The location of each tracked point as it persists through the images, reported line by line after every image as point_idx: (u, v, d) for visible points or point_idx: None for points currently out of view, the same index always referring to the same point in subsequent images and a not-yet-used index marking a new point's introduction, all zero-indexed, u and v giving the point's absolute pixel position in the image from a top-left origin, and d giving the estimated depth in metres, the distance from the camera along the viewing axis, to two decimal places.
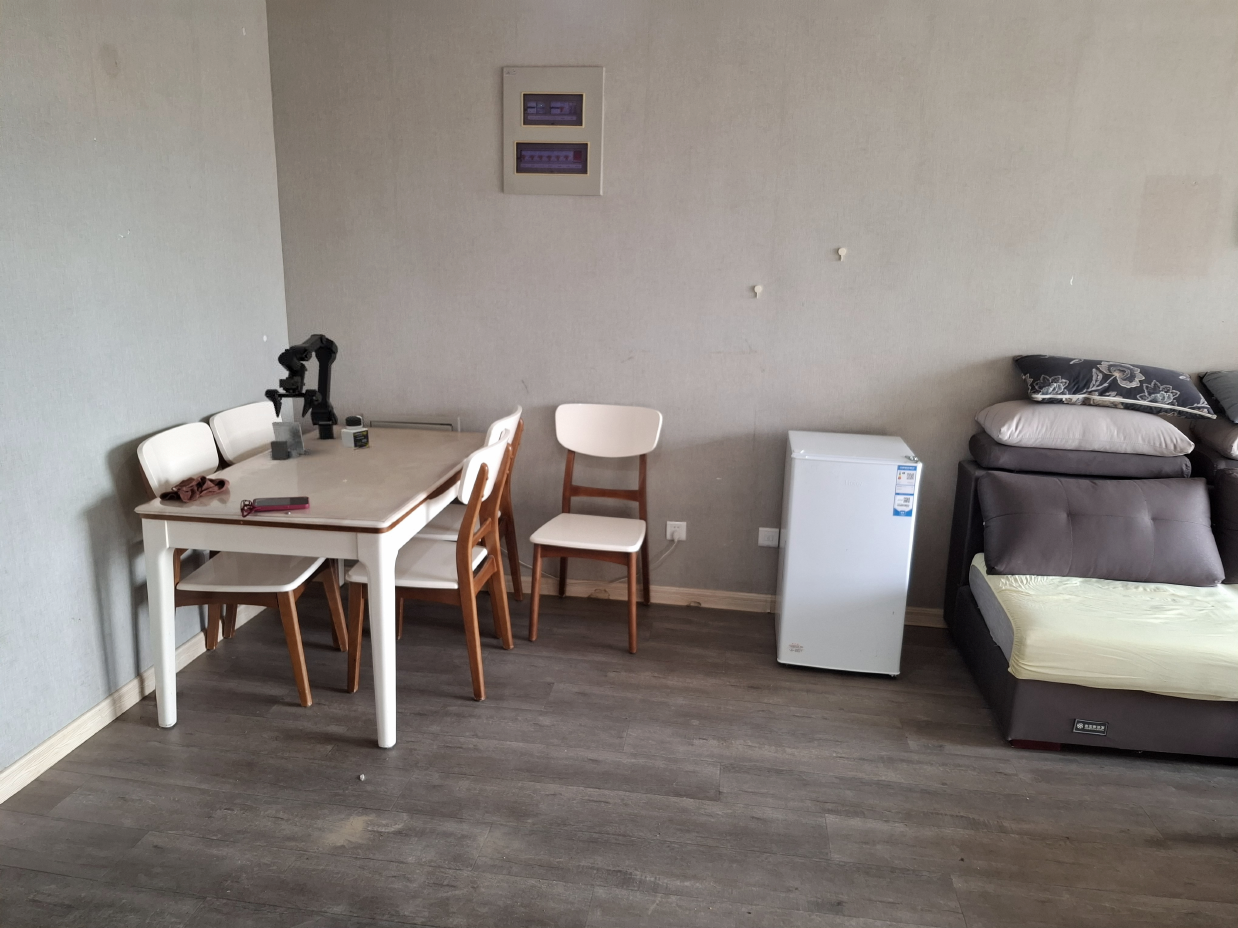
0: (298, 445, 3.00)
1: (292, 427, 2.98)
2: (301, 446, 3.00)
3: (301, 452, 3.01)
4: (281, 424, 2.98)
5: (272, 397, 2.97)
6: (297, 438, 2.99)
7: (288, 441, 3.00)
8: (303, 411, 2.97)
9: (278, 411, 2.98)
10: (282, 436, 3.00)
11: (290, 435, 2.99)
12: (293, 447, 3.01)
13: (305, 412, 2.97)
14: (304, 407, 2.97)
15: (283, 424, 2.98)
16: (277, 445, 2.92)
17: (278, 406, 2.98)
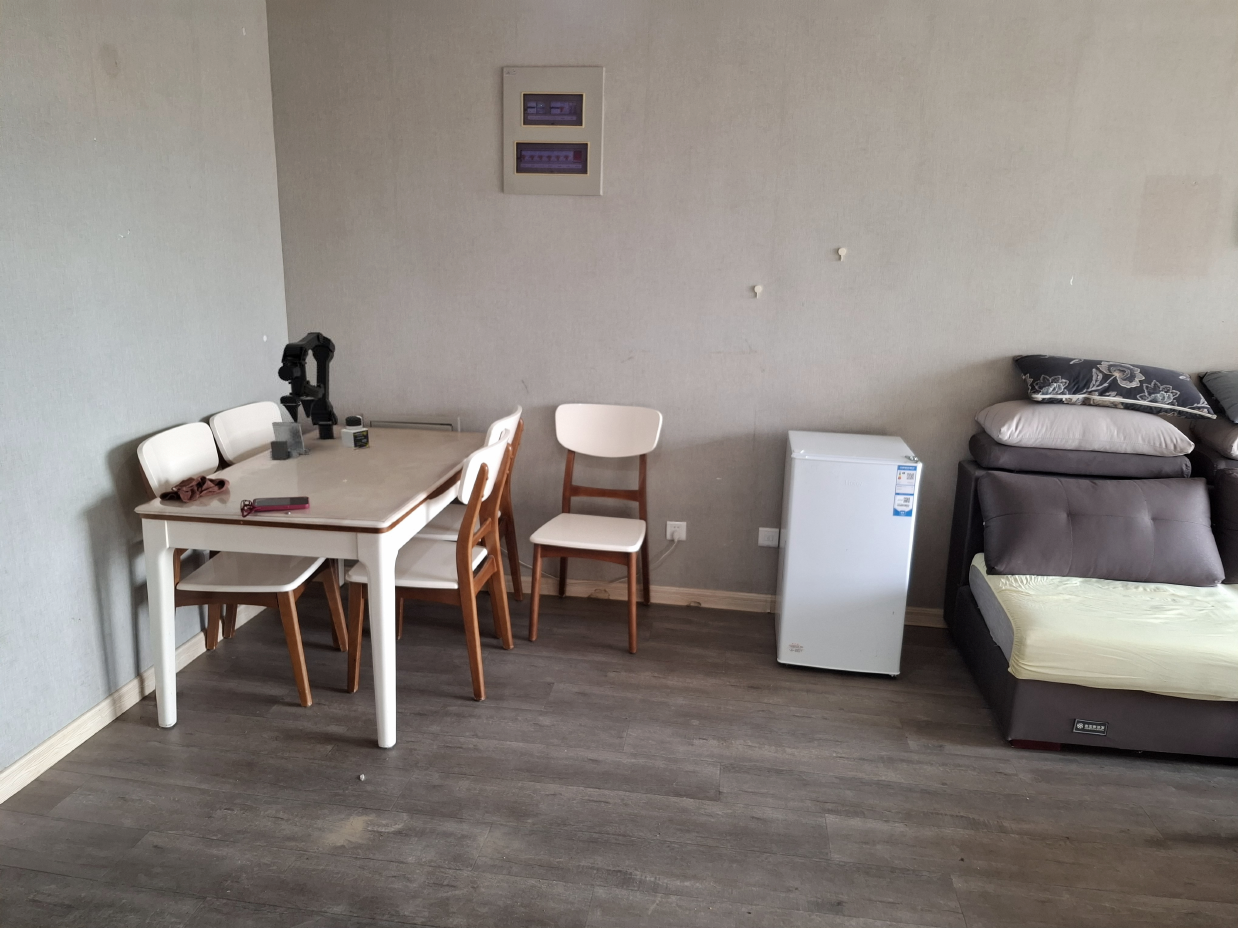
0: (298, 445, 3.00)
1: (292, 427, 2.98)
2: (301, 446, 3.00)
3: (301, 452, 3.01)
4: (281, 424, 2.98)
5: (299, 405, 3.00)
6: (297, 438, 2.99)
7: (288, 441, 3.00)
8: (310, 412, 3.12)
9: None
10: (282, 436, 3.00)
11: (290, 435, 2.99)
12: (293, 447, 3.01)
13: None
14: (311, 408, 3.12)
15: (283, 424, 2.98)
16: (277, 445, 2.92)
17: None
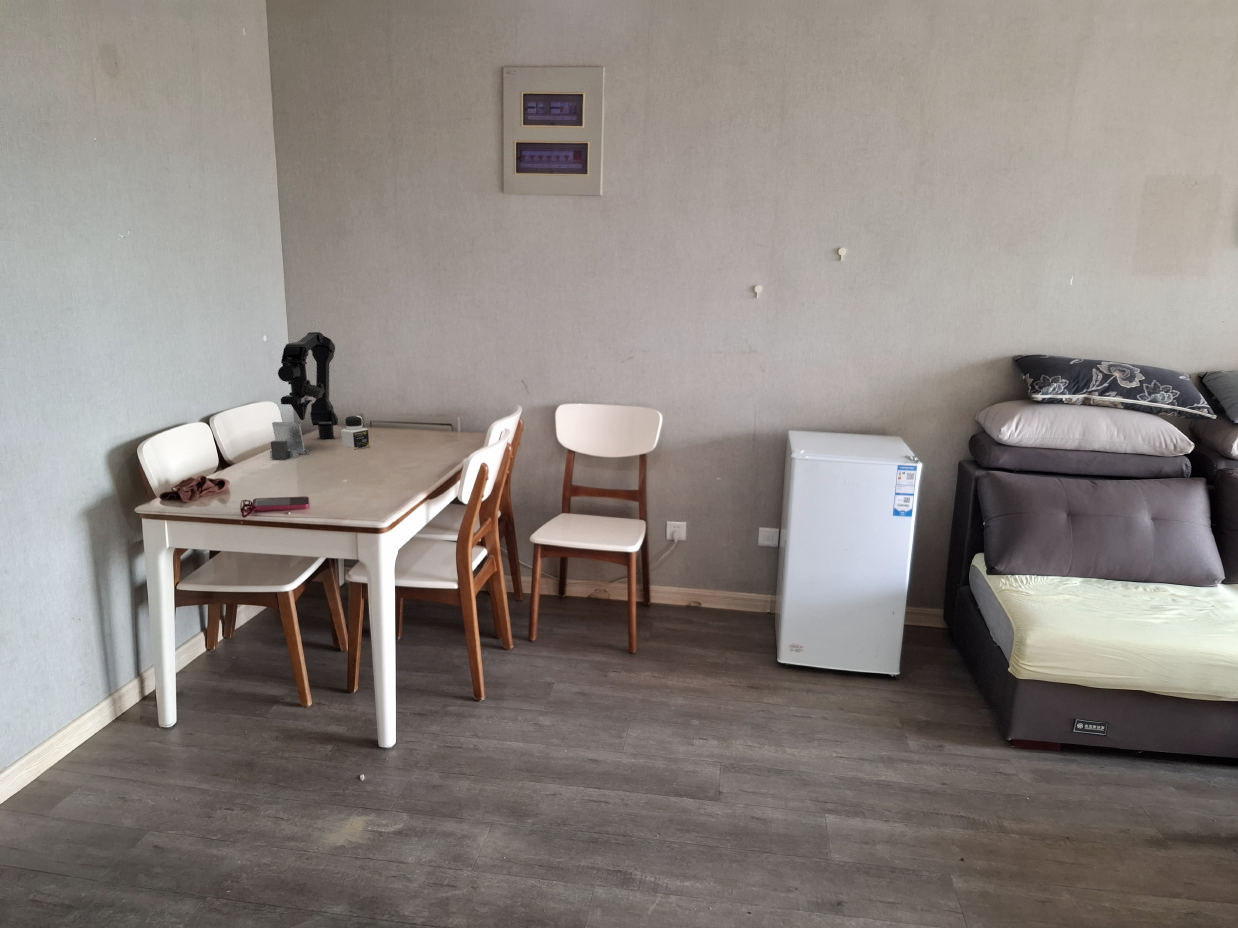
0: (298, 445, 3.00)
1: (292, 427, 2.98)
2: (301, 446, 3.00)
3: (301, 452, 3.01)
4: (281, 424, 2.98)
5: (305, 403, 3.04)
6: (297, 438, 2.99)
7: (288, 441, 3.00)
8: None
9: None
10: (282, 436, 3.00)
11: (290, 435, 2.99)
12: (293, 447, 3.01)
13: None
14: (305, 410, 3.08)
15: (283, 424, 2.98)
16: (277, 445, 2.92)
17: None
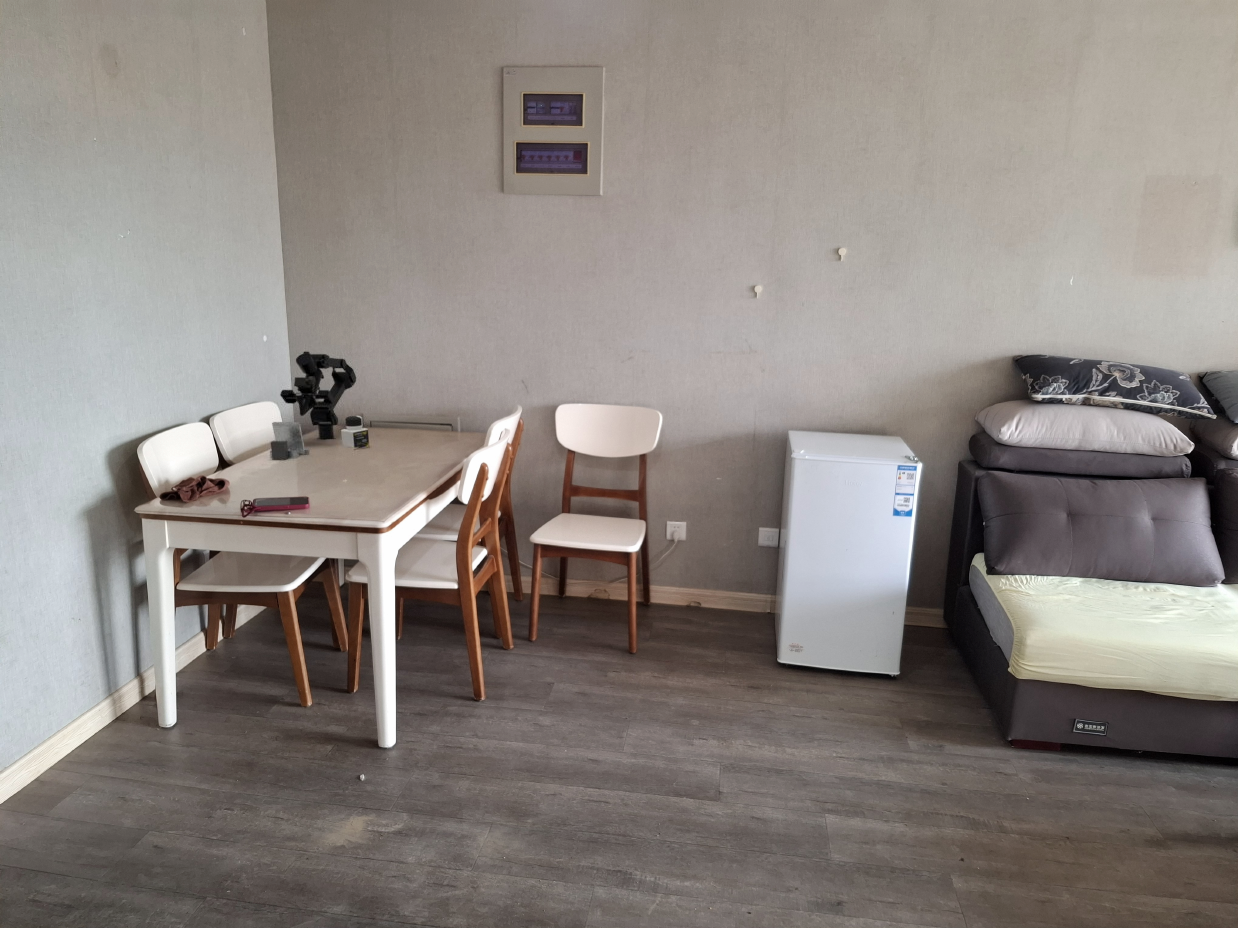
0: (298, 445, 3.00)
1: (292, 427, 2.98)
2: (301, 446, 3.00)
3: (301, 452, 3.01)
4: (281, 424, 2.98)
5: (298, 396, 3.11)
6: (297, 438, 2.99)
7: (288, 441, 3.00)
8: (303, 409, 3.10)
9: None
10: (282, 436, 3.00)
11: (290, 435, 2.99)
12: (293, 447, 3.01)
13: (305, 410, 3.10)
14: (304, 406, 3.10)
15: (283, 424, 2.98)
16: (277, 445, 2.92)
17: (303, 405, 3.11)
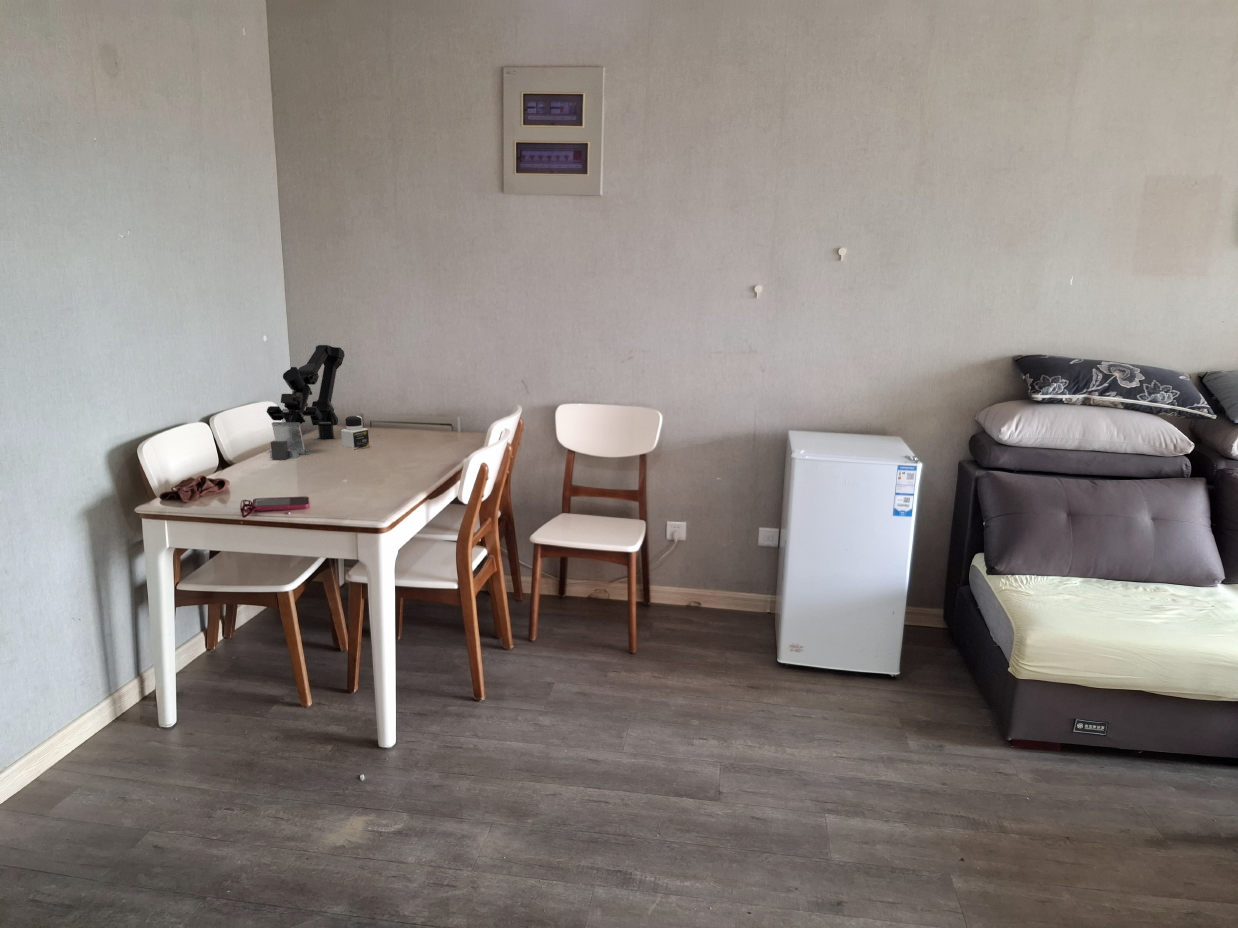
0: (298, 445, 3.00)
1: (292, 427, 2.98)
2: (301, 446, 3.00)
3: (301, 452, 3.01)
4: (281, 424, 2.97)
5: (285, 413, 3.01)
6: (296, 438, 2.99)
7: (288, 441, 3.00)
8: None
9: None
10: (281, 436, 2.99)
11: (290, 435, 2.99)
12: (293, 447, 3.01)
13: None
14: None
15: (283, 424, 2.97)
16: (277, 445, 2.92)
17: None
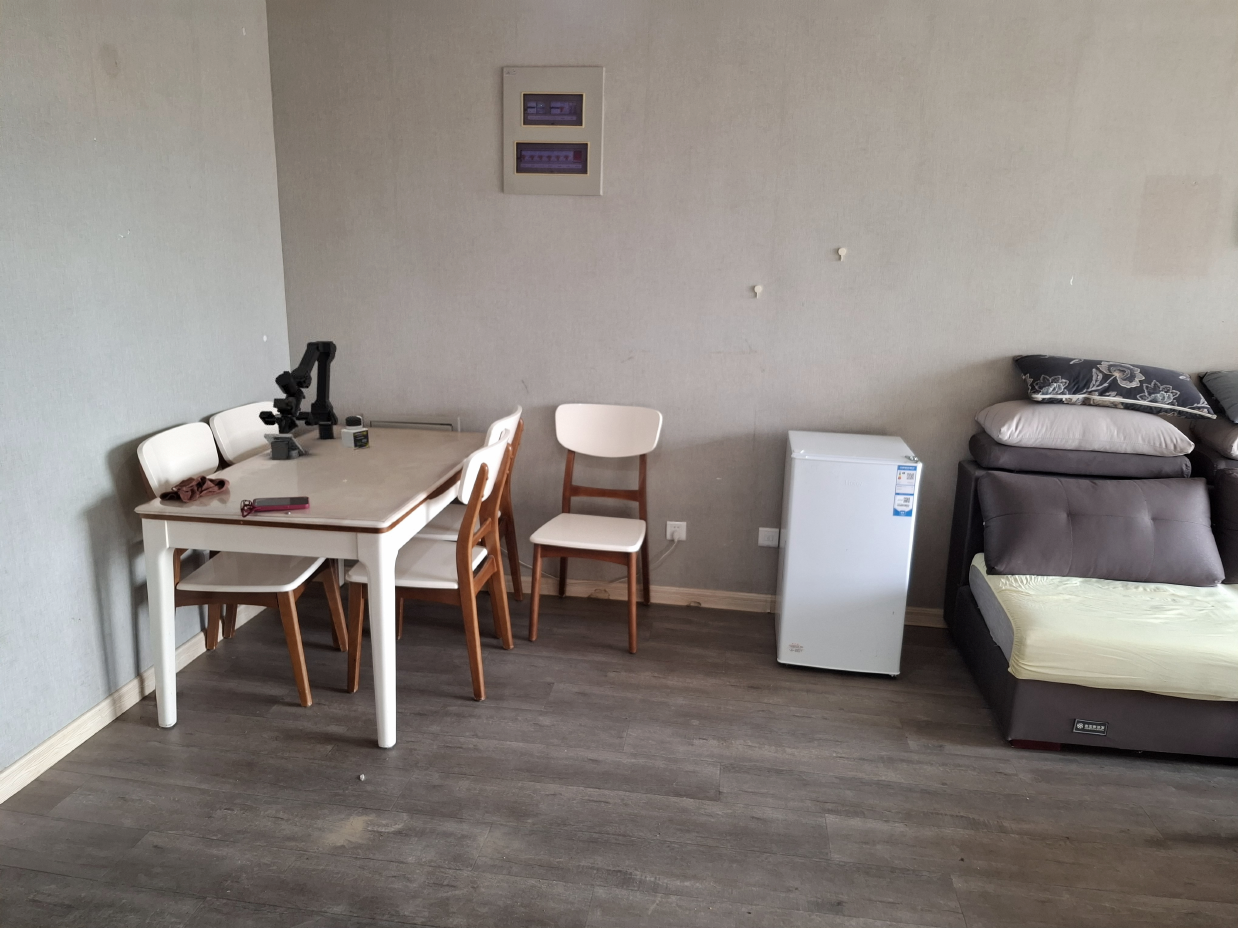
0: None
1: (285, 439, 2.93)
2: (299, 449, 2.99)
3: (301, 453, 3.01)
4: (273, 437, 2.92)
5: (277, 418, 2.96)
6: (293, 445, 2.96)
7: None
8: (282, 432, 2.95)
9: None
10: None
11: None
12: None
13: (284, 433, 2.95)
14: (284, 428, 2.95)
15: (275, 437, 2.92)
16: (277, 445, 2.92)
17: None
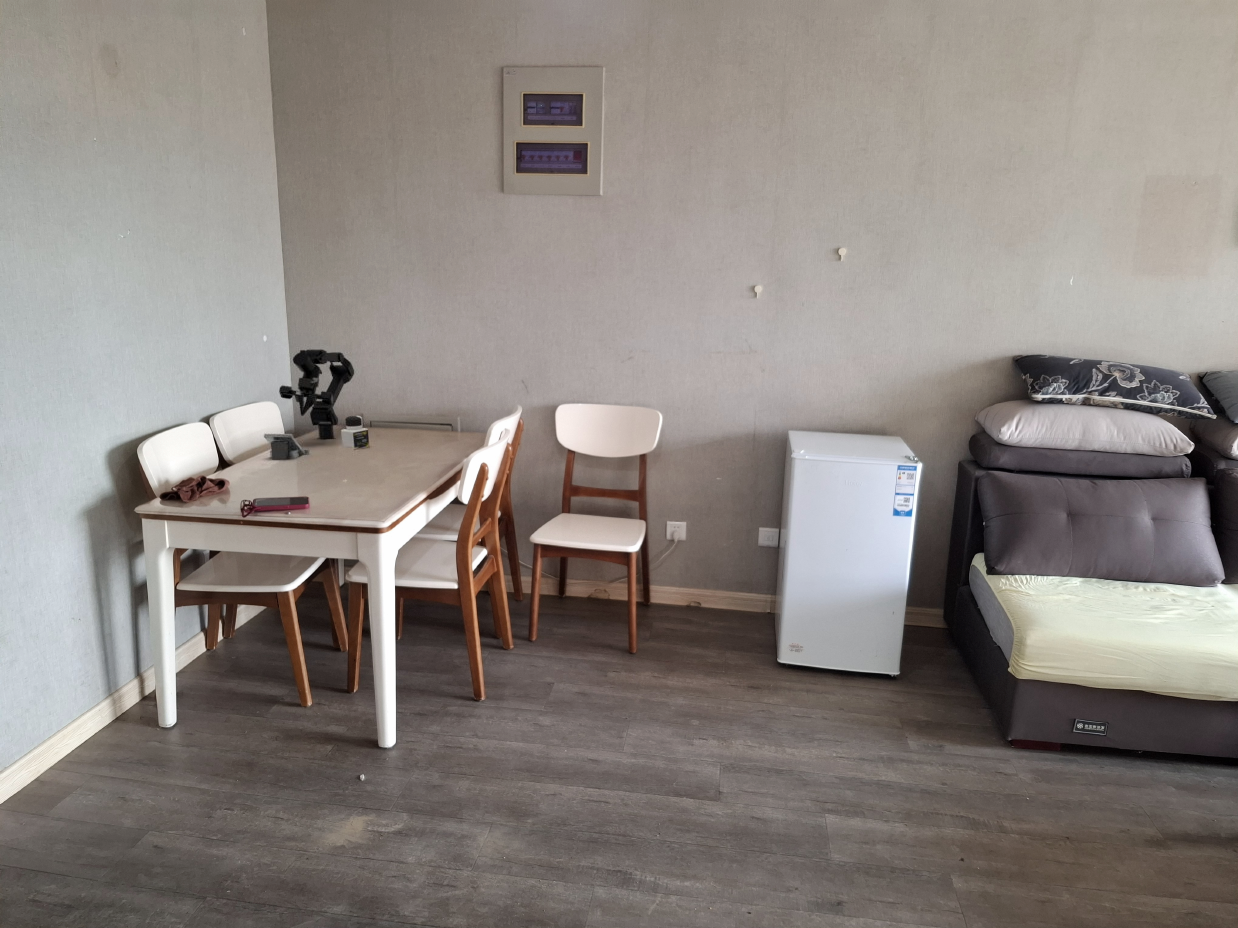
0: None
1: (285, 439, 2.93)
2: (299, 449, 2.99)
3: (301, 453, 3.01)
4: (273, 437, 2.92)
5: (299, 395, 3.10)
6: (293, 445, 2.96)
7: None
8: (304, 409, 3.10)
9: None
10: None
11: None
12: None
13: (305, 411, 3.11)
14: (305, 406, 3.10)
15: (275, 437, 2.92)
16: (277, 445, 2.92)
17: (303, 405, 3.11)
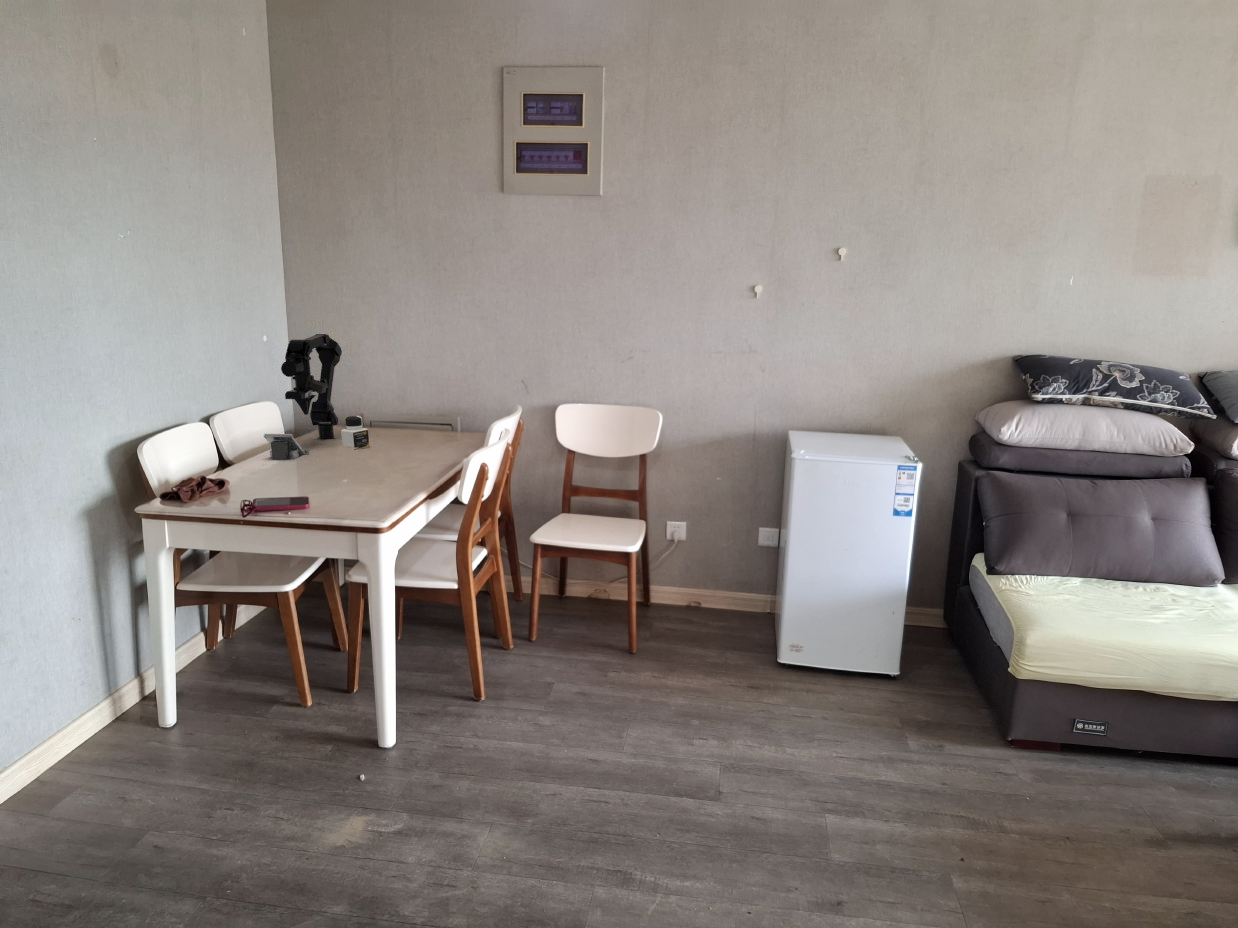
0: None
1: (285, 439, 2.93)
2: (299, 449, 2.99)
3: (301, 453, 3.01)
4: (273, 437, 2.92)
5: (309, 398, 3.10)
6: (293, 445, 2.96)
7: None
8: (308, 409, 3.13)
9: None
10: None
11: None
12: None
13: None
14: (309, 405, 3.13)
15: (275, 437, 2.92)
16: (277, 445, 2.92)
17: None
